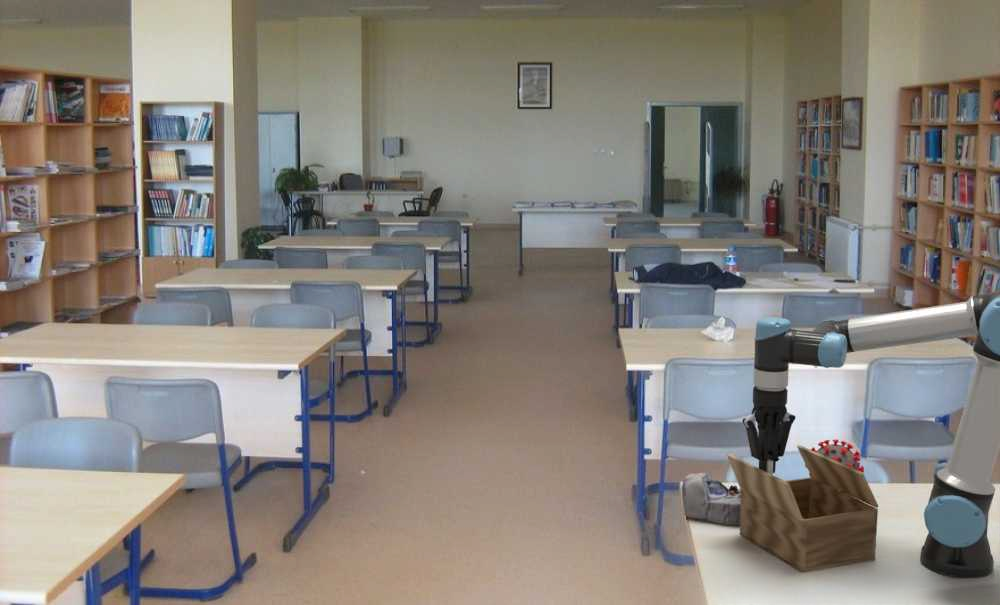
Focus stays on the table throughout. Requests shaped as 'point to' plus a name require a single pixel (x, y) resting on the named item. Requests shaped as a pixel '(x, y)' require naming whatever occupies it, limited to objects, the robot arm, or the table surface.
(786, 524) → the carton
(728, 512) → the cell model
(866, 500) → the right flap
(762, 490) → the left flap
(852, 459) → the virus model
